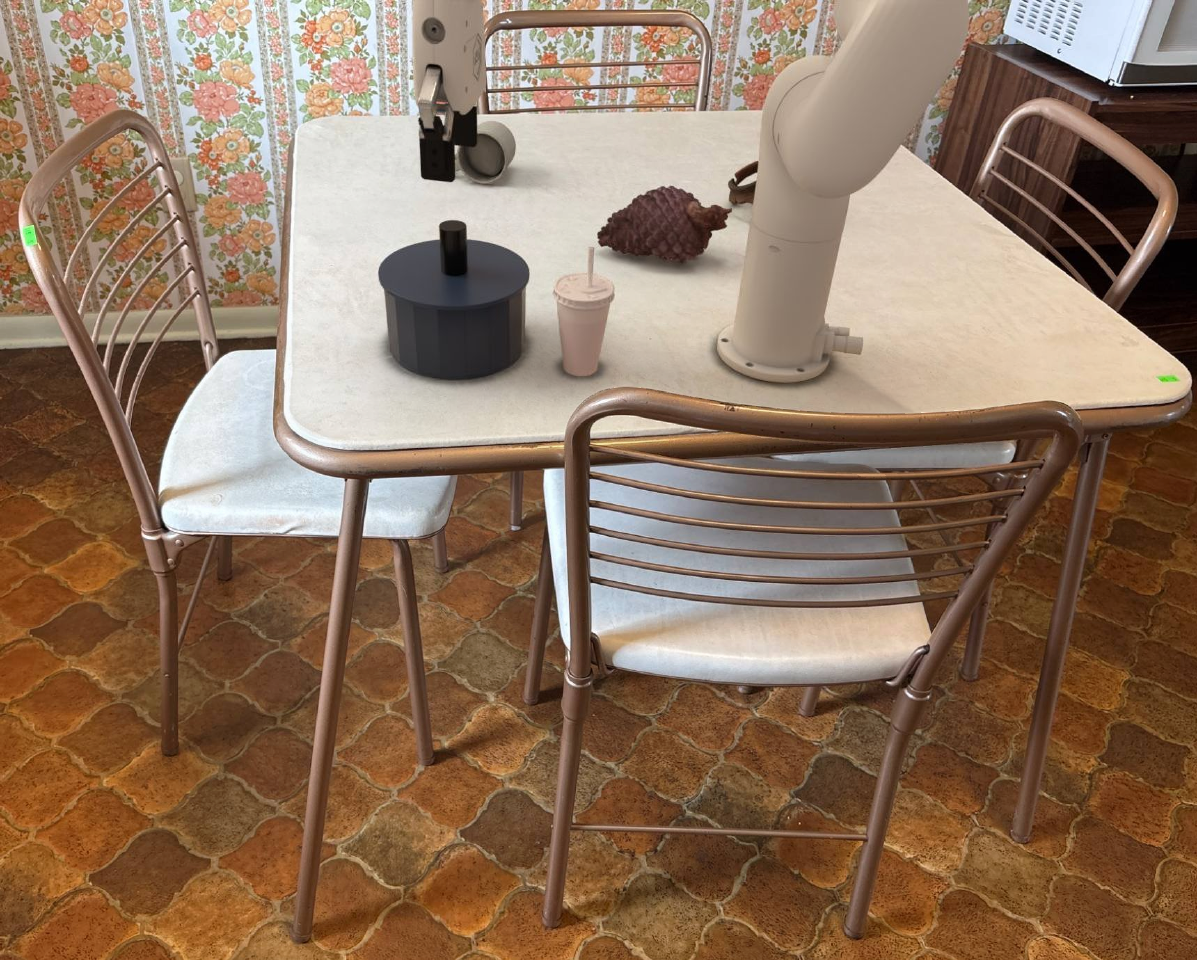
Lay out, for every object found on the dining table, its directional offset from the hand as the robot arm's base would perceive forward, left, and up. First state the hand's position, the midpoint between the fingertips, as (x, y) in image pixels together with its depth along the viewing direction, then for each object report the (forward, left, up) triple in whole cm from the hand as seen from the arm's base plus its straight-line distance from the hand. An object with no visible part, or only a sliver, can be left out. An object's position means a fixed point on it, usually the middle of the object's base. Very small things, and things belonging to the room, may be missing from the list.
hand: (450, 161), depth 97 cm
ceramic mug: (+8, -50, -21) cm, 54 cm away
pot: (0, 0, -20) cm, 20 cm away
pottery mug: (-35, -47, -21) cm, 62 cm away
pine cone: (-21, -28, -21) cm, 40 cm away
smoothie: (-14, +2, -21) cm, 25 cm away
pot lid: (0, 0, -12) cm, 12 cm away
